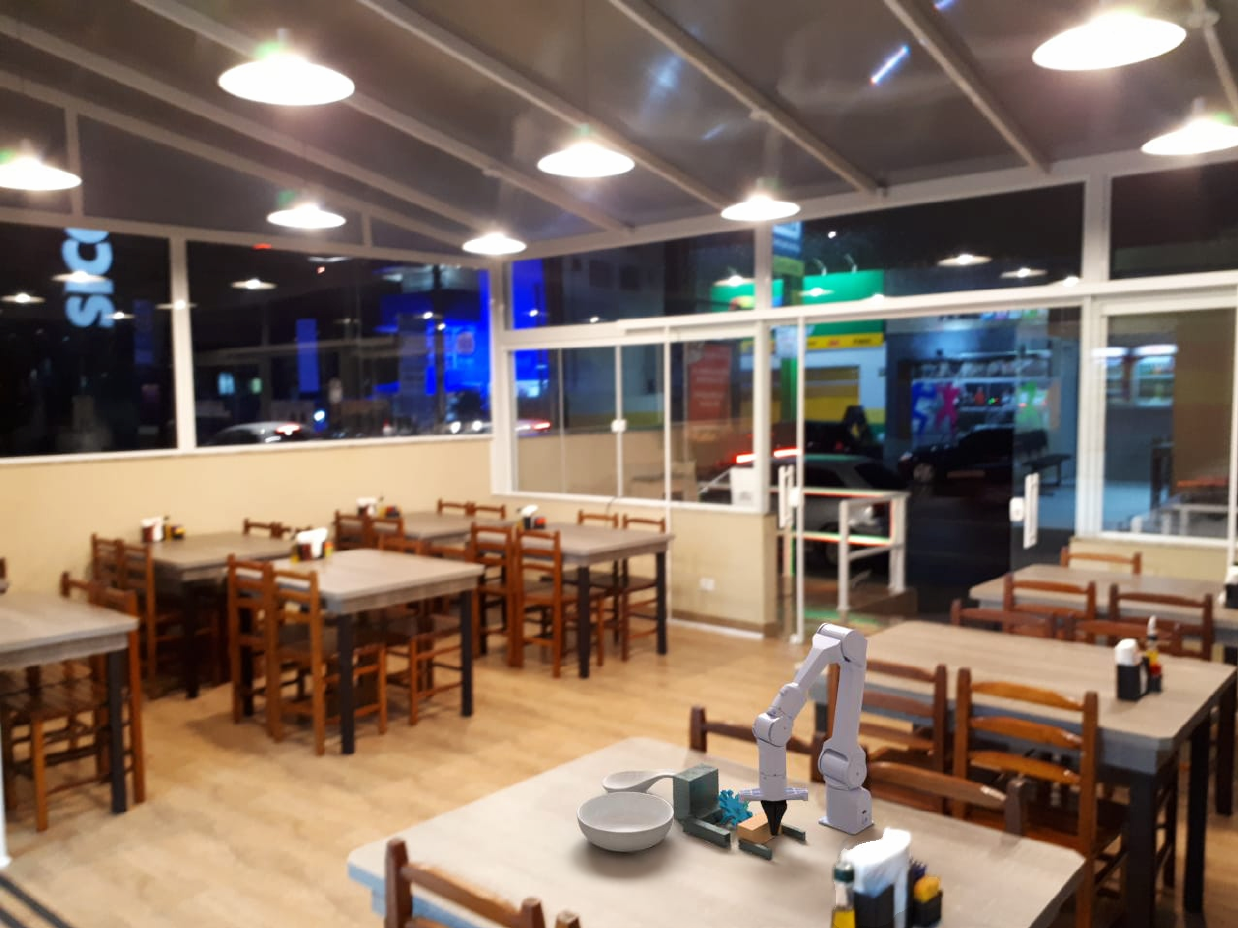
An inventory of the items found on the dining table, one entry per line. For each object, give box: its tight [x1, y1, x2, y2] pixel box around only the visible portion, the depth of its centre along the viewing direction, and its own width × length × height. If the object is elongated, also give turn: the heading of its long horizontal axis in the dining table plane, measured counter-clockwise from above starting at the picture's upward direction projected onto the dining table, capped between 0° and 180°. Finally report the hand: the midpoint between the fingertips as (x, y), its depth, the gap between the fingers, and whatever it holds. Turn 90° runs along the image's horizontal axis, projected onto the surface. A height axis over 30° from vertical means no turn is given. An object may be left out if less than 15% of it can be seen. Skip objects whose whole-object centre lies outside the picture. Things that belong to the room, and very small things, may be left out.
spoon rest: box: [601, 768, 681, 794], centre depth 228 cm, size 24×12×7 cm, turn 68°
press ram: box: [736, 810, 781, 845], centre depth 205 cm, size 4×10×4 cm, turn 134°
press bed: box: [672, 762, 807, 862], centre depth 208 cm, size 28×15×10 cm, turn 44°
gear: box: [717, 789, 754, 828], centre depth 212 cm, size 11×6×10 cm
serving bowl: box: [576, 792, 674, 852], centre depth 206 cm, size 21×21×7 cm
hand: (773, 833), depth 202 cm, fingers closed
